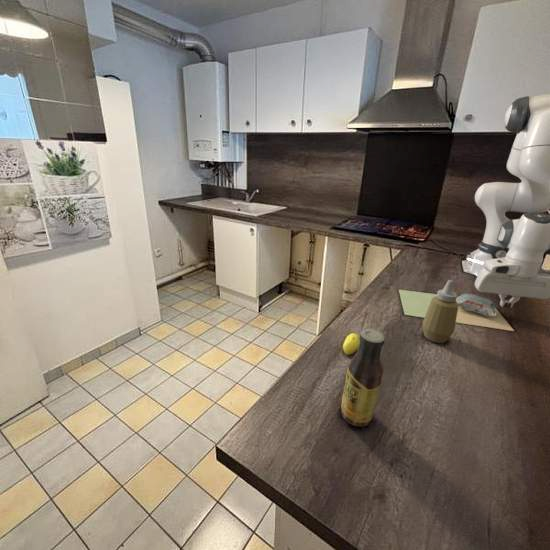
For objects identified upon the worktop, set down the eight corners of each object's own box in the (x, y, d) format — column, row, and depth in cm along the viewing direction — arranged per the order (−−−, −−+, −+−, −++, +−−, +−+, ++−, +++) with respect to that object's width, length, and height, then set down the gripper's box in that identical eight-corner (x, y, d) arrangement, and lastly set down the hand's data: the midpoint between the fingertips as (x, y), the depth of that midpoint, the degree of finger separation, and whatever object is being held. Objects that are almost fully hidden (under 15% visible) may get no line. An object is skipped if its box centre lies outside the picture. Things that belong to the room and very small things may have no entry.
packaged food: (493, 321, 92) (498, 308, 90) (451, 309, 99) (455, 296, 97) (496, 312, 98) (500, 299, 96) (456, 300, 105) (460, 288, 103)
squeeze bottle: (447, 332, 86) (464, 277, 79) (453, 348, 79) (472, 289, 72) (418, 327, 89) (431, 273, 82) (421, 342, 82) (436, 284, 75)
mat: (398, 289, 113) (398, 289, 113) (489, 301, 105) (489, 301, 105) (404, 314, 95) (404, 314, 95) (514, 331, 88) (514, 331, 88)
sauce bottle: (336, 404, 61) (347, 323, 53) (365, 402, 61) (380, 322, 54) (346, 431, 55) (360, 345, 47) (377, 429, 55) (397, 344, 48)
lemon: (338, 353, 76) (339, 341, 75) (349, 339, 82) (350, 327, 81) (353, 360, 74) (355, 347, 73) (363, 344, 80) (365, 332, 79)
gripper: (554, 267, 90) (538, 306, 95) (479, 260, 95) (467, 297, 100) (567, 275, 84) (548, 316, 90) (486, 266, 89) (473, 306, 95)
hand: (505, 306), depth 95 cm, fingers closed
